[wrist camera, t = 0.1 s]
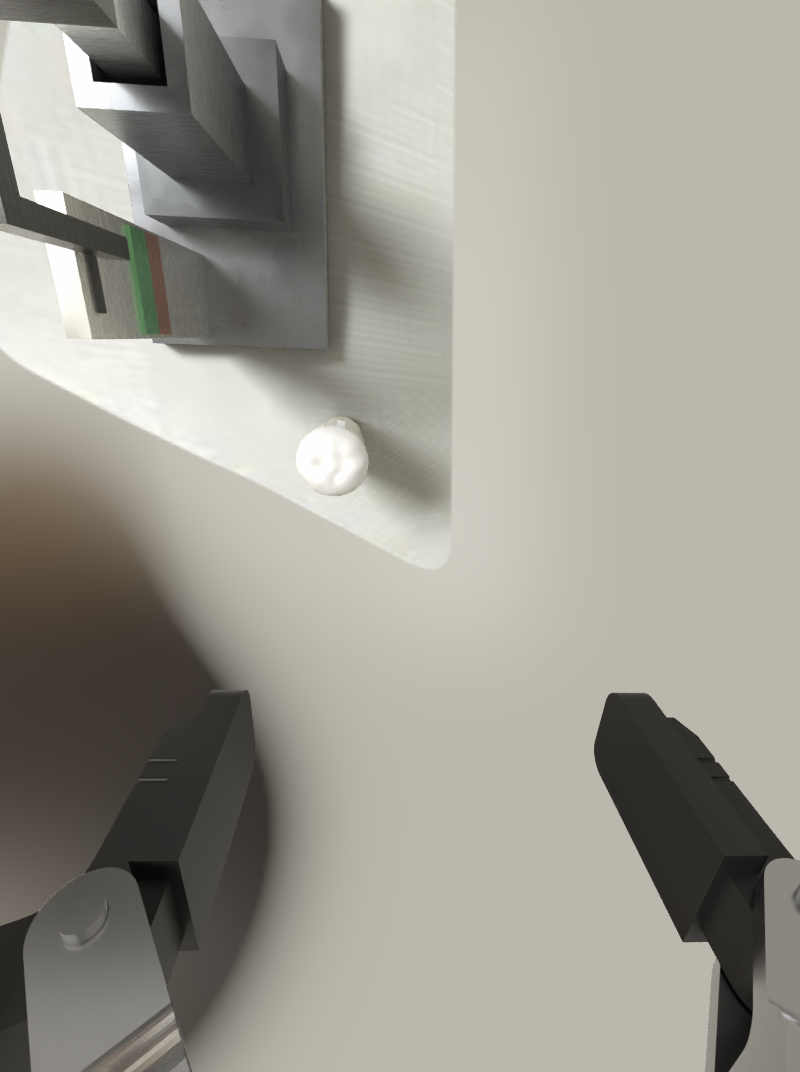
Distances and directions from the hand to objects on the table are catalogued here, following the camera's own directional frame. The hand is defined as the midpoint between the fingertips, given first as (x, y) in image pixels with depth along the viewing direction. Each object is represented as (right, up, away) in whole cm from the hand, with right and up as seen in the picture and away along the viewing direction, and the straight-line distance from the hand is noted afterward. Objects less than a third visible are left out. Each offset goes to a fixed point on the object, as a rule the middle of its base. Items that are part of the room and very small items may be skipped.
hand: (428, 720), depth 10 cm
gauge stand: (-11, +27, +20) cm, 35 cm away
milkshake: (-5, +12, +27) cm, 30 cm away
